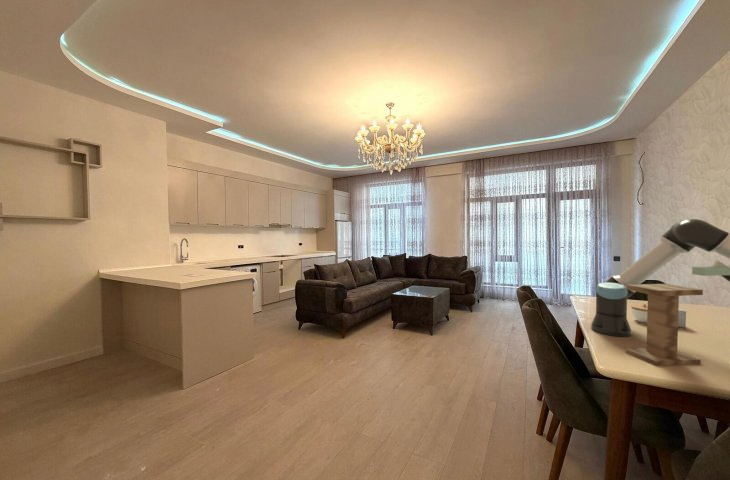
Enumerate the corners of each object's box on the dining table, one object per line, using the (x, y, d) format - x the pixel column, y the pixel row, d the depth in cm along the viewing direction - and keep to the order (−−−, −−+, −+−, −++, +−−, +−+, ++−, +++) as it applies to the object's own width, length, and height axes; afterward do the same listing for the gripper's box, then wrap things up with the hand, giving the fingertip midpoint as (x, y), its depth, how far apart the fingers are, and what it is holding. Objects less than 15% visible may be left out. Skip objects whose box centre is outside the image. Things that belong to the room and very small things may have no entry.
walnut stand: (665, 350, 121) (667, 283, 120) (700, 363, 109) (703, 289, 108) (625, 352, 120) (627, 284, 119) (657, 365, 108) (659, 290, 107)
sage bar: (734, 273, 118) (734, 266, 118) (747, 274, 114) (748, 267, 114) (692, 274, 117) (692, 266, 117) (704, 275, 113) (704, 268, 113)
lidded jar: (631, 317, 167) (631, 301, 167) (657, 321, 160) (658, 304, 160) (630, 321, 160) (631, 304, 159) (658, 325, 152) (659, 308, 152)
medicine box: (682, 325, 152) (683, 309, 152) (685, 328, 149) (686, 311, 148) (661, 323, 157) (662, 307, 156) (664, 325, 153) (664, 309, 152)
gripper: (795, 305, 109) (748, 275, 107) (733, 295, 126) (692, 269, 124) (804, 287, 109) (758, 257, 107) (742, 280, 126) (701, 253, 124)
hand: (723, 264), depth 115 cm, fingers closed on sage bar, 4 cm apart
